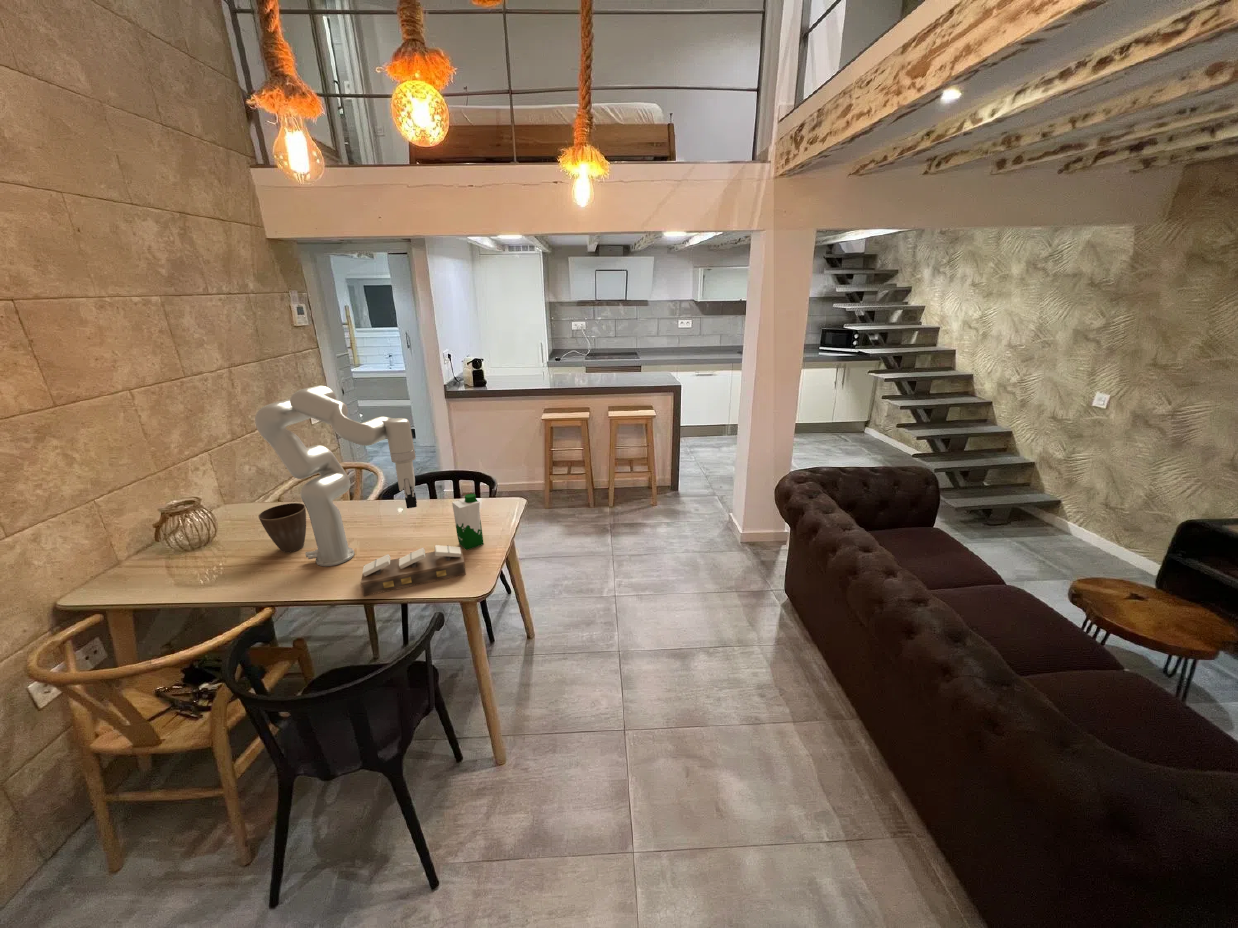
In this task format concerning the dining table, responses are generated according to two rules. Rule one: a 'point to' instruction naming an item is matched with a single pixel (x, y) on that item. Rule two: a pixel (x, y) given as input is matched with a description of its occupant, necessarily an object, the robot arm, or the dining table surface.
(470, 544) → the milk carton
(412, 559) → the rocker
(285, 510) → the plant pot
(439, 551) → the rocker
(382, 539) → the dining table surface
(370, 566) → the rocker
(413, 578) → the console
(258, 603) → the dining table surface
